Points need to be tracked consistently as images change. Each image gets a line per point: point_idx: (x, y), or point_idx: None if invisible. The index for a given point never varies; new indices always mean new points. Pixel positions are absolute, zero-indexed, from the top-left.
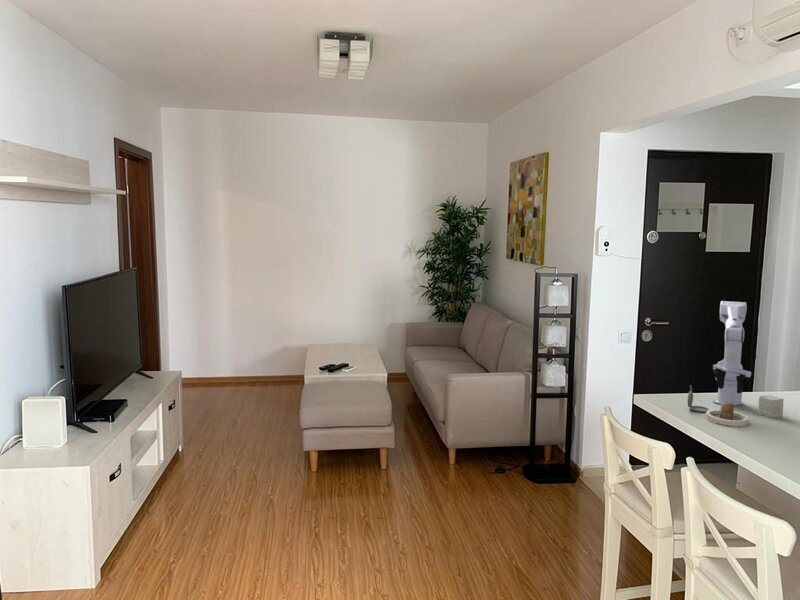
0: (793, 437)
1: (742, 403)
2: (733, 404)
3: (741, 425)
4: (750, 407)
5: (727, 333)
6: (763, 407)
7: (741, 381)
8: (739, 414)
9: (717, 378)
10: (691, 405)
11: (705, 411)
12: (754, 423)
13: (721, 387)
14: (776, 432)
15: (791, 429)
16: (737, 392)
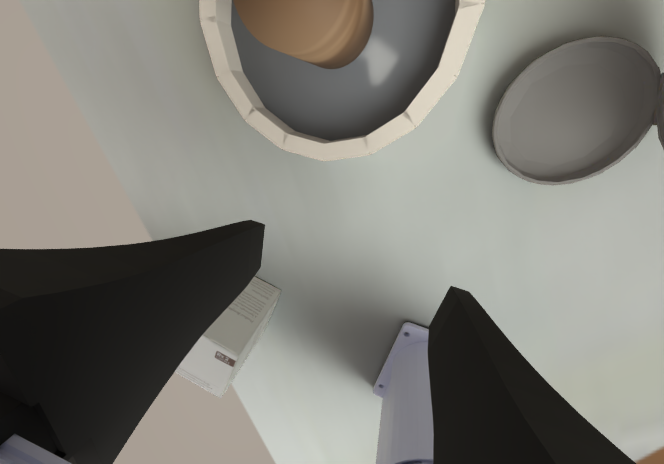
0: (29, 18)
1: (374, 385)
2: (239, 2)
3: None
4: (337, 358)
5: None
6: (240, 300)
7: (50, 250)
8: (284, 131)
9: (543, 398)
10: (659, 111)
11: (507, 90)
12: (218, 111)
13: (442, 312)
14: (94, 33)
15: (109, 152)
16: (254, 223)
